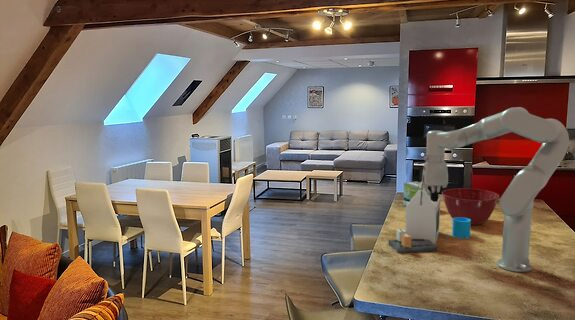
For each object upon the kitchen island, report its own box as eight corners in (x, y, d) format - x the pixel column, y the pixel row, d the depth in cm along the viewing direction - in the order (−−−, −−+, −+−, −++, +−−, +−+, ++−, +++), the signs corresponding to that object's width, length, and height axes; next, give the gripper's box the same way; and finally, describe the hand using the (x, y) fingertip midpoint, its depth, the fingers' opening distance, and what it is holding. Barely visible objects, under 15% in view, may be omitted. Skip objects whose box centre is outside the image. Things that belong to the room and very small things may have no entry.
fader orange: (411, 247, 201) (411, 236, 200) (404, 247, 200) (404, 236, 200) (407, 244, 205) (408, 233, 204) (401, 244, 204) (401, 233, 204)
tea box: (402, 205, 285) (403, 182, 283) (415, 204, 289) (416, 181, 287) (419, 211, 272) (420, 186, 270) (432, 209, 276) (433, 185, 274)
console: (437, 250, 202) (437, 246, 202) (397, 252, 200) (397, 247, 200) (426, 242, 214) (426, 237, 214) (388, 244, 212) (388, 239, 212)
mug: (468, 239, 218) (468, 222, 217) (450, 236, 223) (450, 220, 222) (473, 233, 228) (474, 216, 227) (456, 230, 233) (456, 214, 232)
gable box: (412, 229, 236) (413, 175, 232) (439, 232, 231) (441, 177, 227) (405, 242, 216) (406, 183, 212) (434, 245, 210) (436, 185, 207)
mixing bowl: (489, 232, 229) (491, 201, 227) (433, 223, 246) (434, 194, 244) (503, 219, 251) (504, 192, 249) (450, 212, 269) (451, 186, 266)
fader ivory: (405, 241, 209) (405, 231, 208) (399, 241, 208) (399, 231, 208) (402, 238, 213) (402, 228, 212) (396, 238, 212) (396, 228, 212)
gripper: (422, 161, 194) (421, 203, 196) (455, 159, 196) (454, 202, 198) (415, 158, 201) (414, 200, 204) (447, 157, 203) (446, 198, 206)
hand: (434, 201), depth 201 cm, fingers closed
